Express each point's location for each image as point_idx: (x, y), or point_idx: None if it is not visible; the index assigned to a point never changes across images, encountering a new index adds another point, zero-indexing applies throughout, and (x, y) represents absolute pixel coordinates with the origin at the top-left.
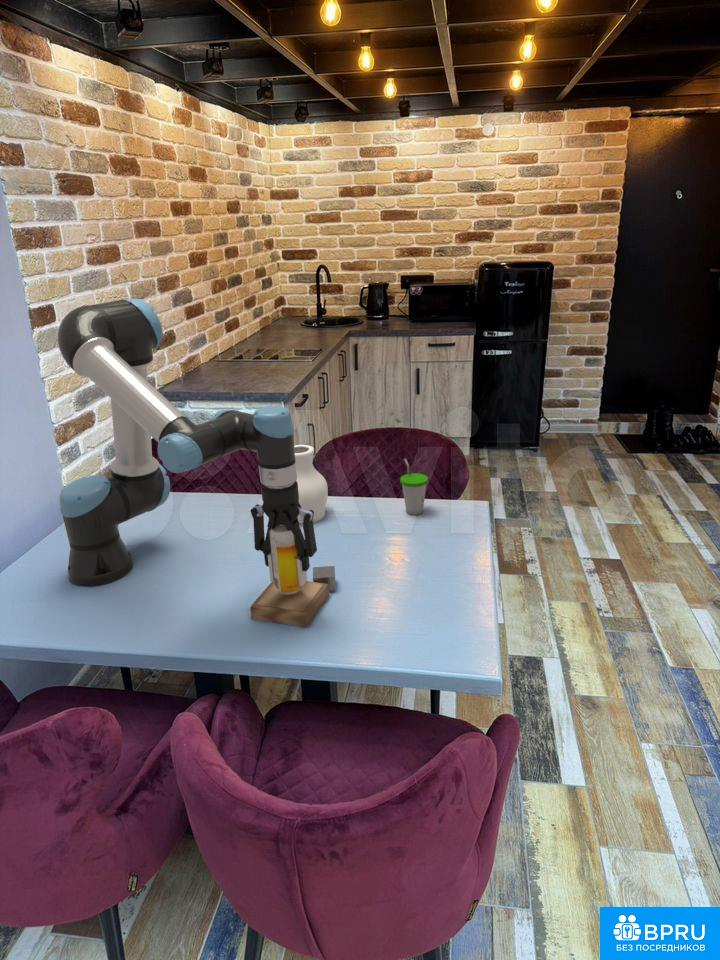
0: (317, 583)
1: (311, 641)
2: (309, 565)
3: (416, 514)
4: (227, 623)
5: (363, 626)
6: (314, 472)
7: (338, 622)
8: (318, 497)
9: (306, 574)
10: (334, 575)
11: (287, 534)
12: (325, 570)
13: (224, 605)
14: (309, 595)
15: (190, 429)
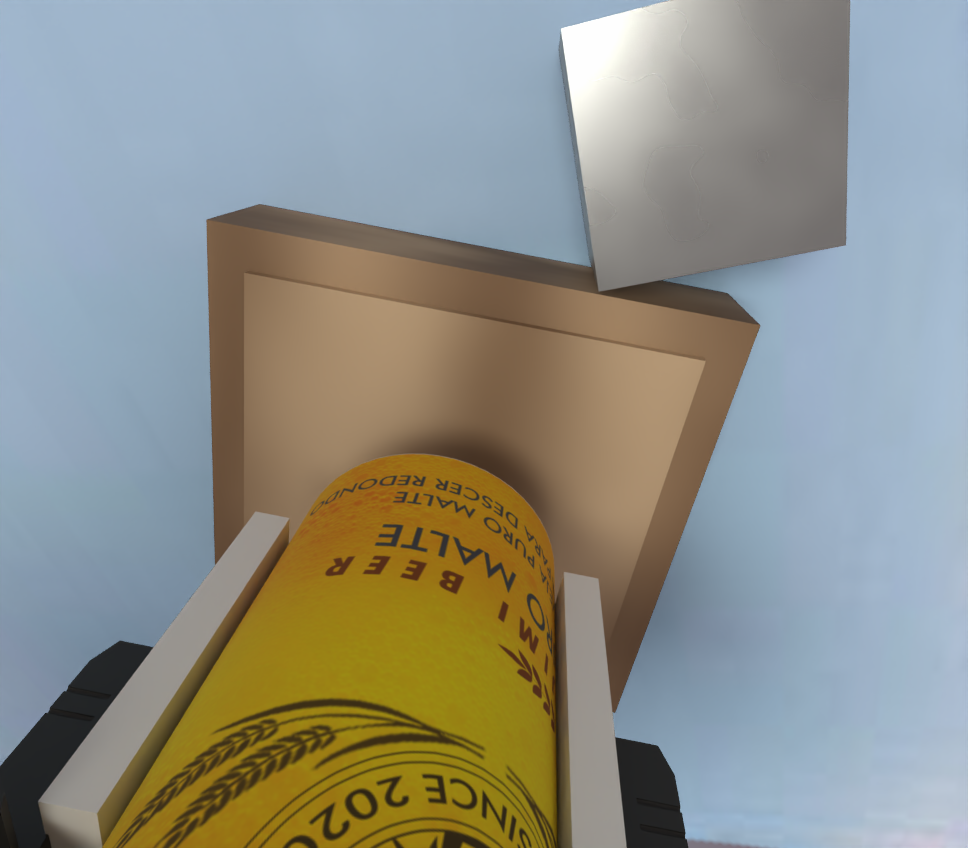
0: (646, 322)
1: (648, 734)
2: (675, 789)
3: None
4: (147, 610)
5: (963, 629)
6: None
7: (799, 597)
8: None
9: (602, 633)
10: (841, 217)
11: None
12: (728, 102)
13: (16, 451)
14: (604, 523)
15: None
